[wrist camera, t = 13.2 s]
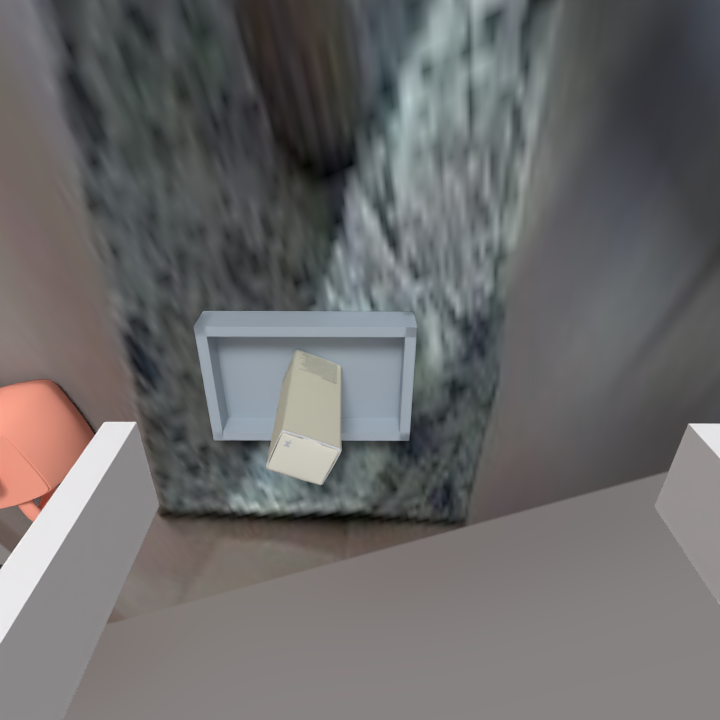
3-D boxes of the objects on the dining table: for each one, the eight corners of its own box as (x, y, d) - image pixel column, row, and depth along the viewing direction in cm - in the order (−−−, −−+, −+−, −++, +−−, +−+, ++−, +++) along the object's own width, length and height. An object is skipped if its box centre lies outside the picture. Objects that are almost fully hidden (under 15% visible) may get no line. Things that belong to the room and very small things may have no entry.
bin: (203, 310, 49) (193, 326, 46) (413, 311, 49) (416, 327, 46) (221, 420, 55) (214, 440, 52) (406, 421, 55) (409, 440, 52)
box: (281, 381, 52) (260, 469, 41) (296, 346, 50) (278, 428, 39) (329, 398, 53) (321, 489, 42) (346, 365, 51) (343, 451, 40)
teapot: (40, 483, 60) (-17, 558, 51) (-72, 357, 51) (-163, 421, 42) (125, 459, 58) (82, 532, 49) (25, 325, 49) (-50, 384, 40)
